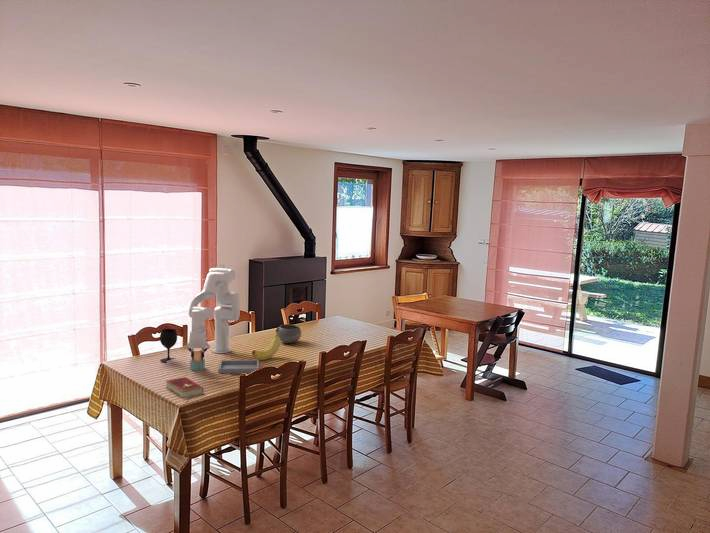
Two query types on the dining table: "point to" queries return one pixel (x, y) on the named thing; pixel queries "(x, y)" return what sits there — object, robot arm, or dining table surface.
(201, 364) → the cup
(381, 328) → the dining table surface
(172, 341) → the wine glass
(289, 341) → the bowl
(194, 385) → the hardcover book
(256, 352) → the banana
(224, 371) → the tray
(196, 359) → the peg
